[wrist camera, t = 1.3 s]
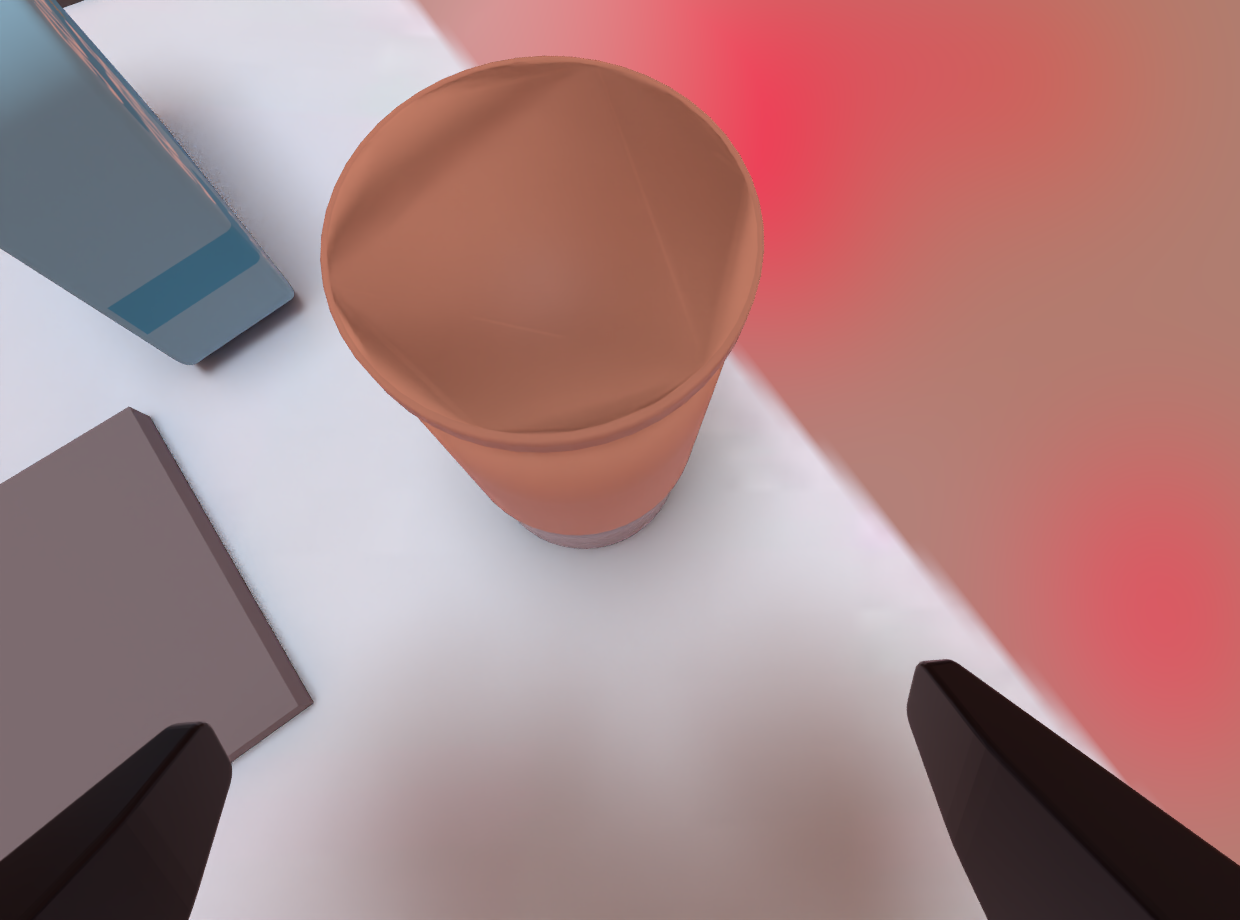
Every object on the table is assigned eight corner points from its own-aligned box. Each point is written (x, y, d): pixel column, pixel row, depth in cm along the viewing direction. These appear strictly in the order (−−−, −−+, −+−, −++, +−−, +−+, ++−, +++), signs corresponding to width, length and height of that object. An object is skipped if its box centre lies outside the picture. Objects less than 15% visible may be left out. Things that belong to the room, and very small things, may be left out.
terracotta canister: (744, 457, 19) (853, 295, 10) (532, 586, 18) (447, 531, 9) (618, 274, 20) (616, -3, 12) (417, 383, 19) (251, 169, 11)
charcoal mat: (313, 702, 21) (298, 705, 20) (-55, 967, 19) (-92, 984, 18) (149, 416, 23) (129, 406, 22) (-188, 621, 21) (-227, 620, 20)
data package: (311, 310, 24) (32, 11, 13) (206, 382, 24) (-191, 131, 12) (154, 112, 27) (-195, -286, 15) (55, 171, 26) (-392, -203, 15)
